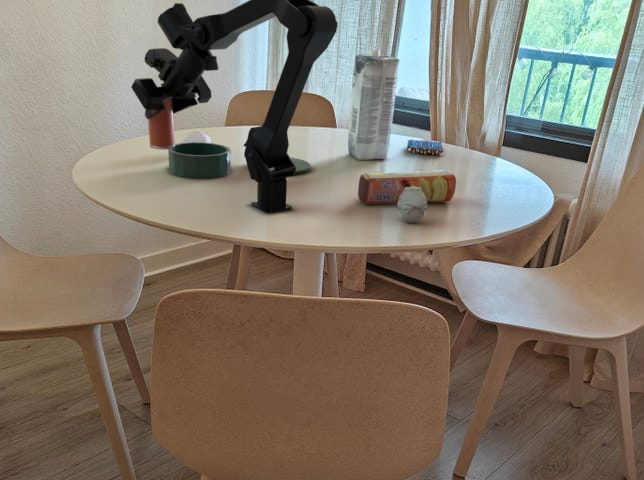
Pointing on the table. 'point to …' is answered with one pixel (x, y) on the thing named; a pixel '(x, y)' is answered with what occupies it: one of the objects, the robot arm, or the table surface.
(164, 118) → the tin can
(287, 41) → the robot arm
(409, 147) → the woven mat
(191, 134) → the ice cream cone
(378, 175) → the snack package
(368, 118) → the juice carton
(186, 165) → the pot
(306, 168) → the pot lid
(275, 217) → the table surface
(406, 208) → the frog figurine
